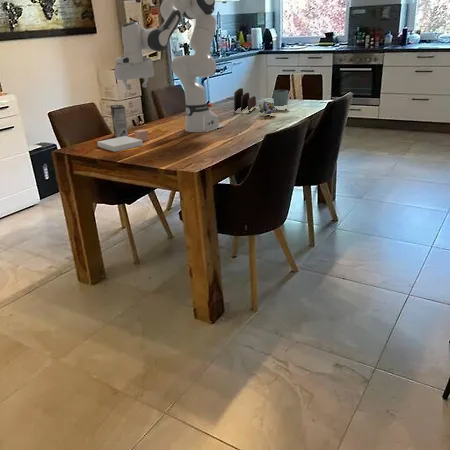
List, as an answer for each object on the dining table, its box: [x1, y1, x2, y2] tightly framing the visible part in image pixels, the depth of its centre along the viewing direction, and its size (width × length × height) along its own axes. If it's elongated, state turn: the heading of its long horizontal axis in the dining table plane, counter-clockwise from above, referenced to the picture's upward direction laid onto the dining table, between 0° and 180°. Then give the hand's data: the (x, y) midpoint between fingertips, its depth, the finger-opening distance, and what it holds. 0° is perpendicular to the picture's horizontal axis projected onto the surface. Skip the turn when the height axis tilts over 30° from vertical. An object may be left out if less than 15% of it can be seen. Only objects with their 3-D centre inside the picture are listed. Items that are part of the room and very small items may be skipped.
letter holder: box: [233, 87, 257, 112], centre depth 310 cm, size 10×20×14 cm, turn 163°
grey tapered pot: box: [272, 89, 290, 106], centre depth 309 cm, size 10×10×12 cm
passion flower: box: [258, 99, 276, 115], centre depth 289 cm, size 11×11×12 cm
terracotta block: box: [133, 129, 150, 142], centre depth 243 cm, size 5×5×5 cm
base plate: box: [96, 135, 144, 152], centre depth 233 cm, size 16×16×2 cm
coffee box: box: [109, 104, 129, 138], centre depth 251 cm, size 9×6×16 cm
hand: (136, 88), depth 234 cm, fingers open, 8 cm apart
